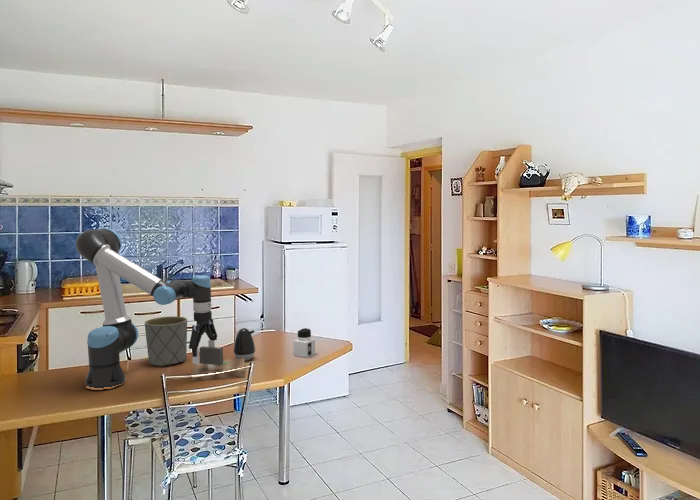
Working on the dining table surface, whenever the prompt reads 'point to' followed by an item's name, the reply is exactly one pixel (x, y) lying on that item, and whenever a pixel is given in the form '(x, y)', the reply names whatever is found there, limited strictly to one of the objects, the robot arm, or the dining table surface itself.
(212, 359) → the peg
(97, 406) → the dining table surface
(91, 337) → the robot arm
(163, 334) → the planter
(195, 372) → the tuner board
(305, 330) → the container
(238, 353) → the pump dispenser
